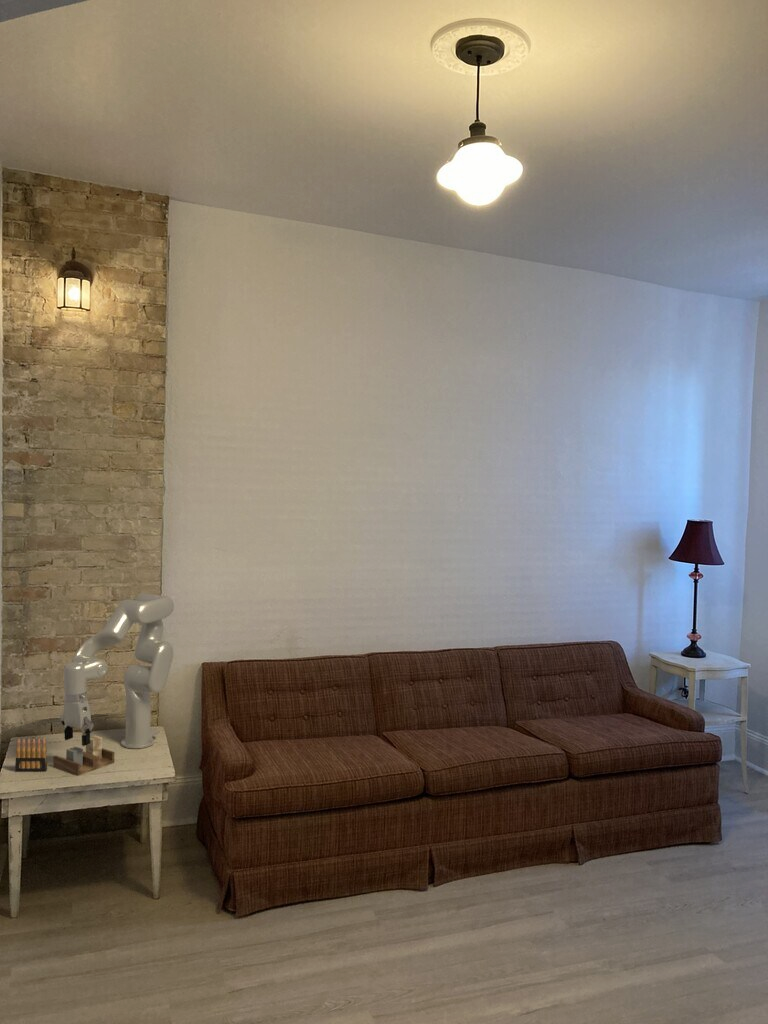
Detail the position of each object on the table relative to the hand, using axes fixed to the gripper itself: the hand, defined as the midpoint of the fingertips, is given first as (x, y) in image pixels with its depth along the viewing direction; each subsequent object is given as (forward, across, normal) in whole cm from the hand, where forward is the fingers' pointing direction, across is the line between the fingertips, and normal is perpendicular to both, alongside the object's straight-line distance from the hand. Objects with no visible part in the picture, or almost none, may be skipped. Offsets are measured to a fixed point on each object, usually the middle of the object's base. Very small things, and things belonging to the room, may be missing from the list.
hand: (77, 741), depth 300 cm
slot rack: (+10, 0, -2) cm, 10 cm away
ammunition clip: (+9, +10, +12) cm, 18 cm away
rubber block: (+8, 0, +2) cm, 9 cm away
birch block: (+9, 0, -7) cm, 11 cm away
